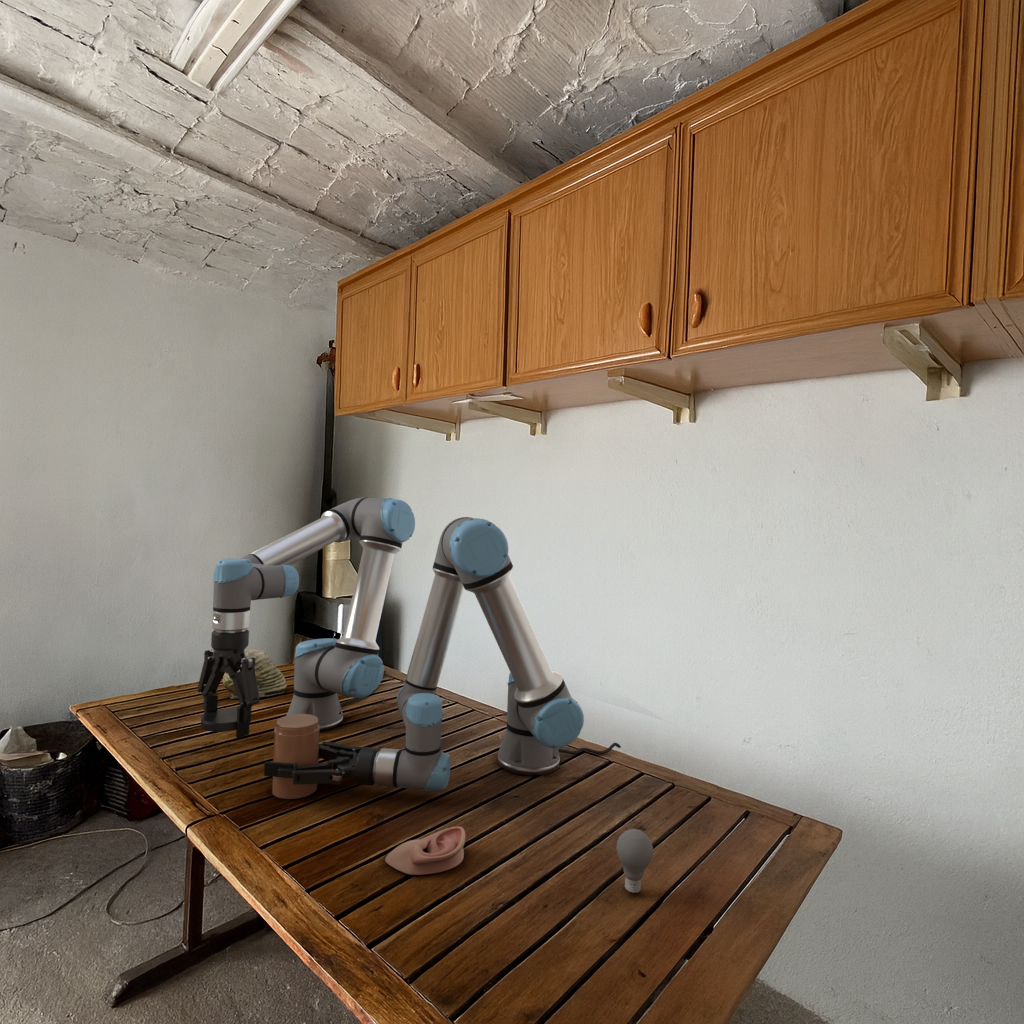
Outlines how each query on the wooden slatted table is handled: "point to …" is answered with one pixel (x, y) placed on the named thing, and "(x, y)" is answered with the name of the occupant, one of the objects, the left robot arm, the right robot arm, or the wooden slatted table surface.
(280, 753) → the jar
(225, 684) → the fossil
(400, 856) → the anatomical model
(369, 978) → the wooden slatted table surface
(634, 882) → the light bulb
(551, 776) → the wooden slatted table surface
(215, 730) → the lid
